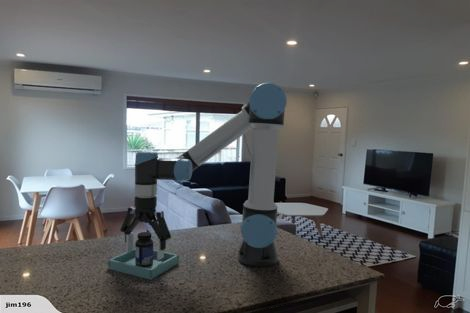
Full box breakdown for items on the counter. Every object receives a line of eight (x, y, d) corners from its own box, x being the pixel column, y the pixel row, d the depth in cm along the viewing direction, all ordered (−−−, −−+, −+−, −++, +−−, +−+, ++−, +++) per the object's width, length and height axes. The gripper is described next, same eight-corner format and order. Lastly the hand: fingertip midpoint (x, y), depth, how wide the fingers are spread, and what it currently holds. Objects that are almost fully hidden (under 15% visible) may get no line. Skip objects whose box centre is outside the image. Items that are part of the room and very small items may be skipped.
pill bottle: (155, 261, 125) (156, 231, 124) (149, 268, 119) (150, 236, 118) (138, 260, 125) (139, 230, 125) (132, 266, 119) (132, 235, 118)
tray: (178, 263, 126) (178, 254, 125) (150, 279, 111) (150, 270, 111) (139, 254, 133) (139, 246, 133) (108, 268, 118) (108, 260, 118)
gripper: (182, 198, 119) (180, 258, 120) (125, 190, 129) (124, 246, 130) (169, 201, 112) (167, 265, 113) (110, 193, 122) (109, 252, 123)
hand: (144, 255), depth 122 cm, fingers open, 13 cm apart
